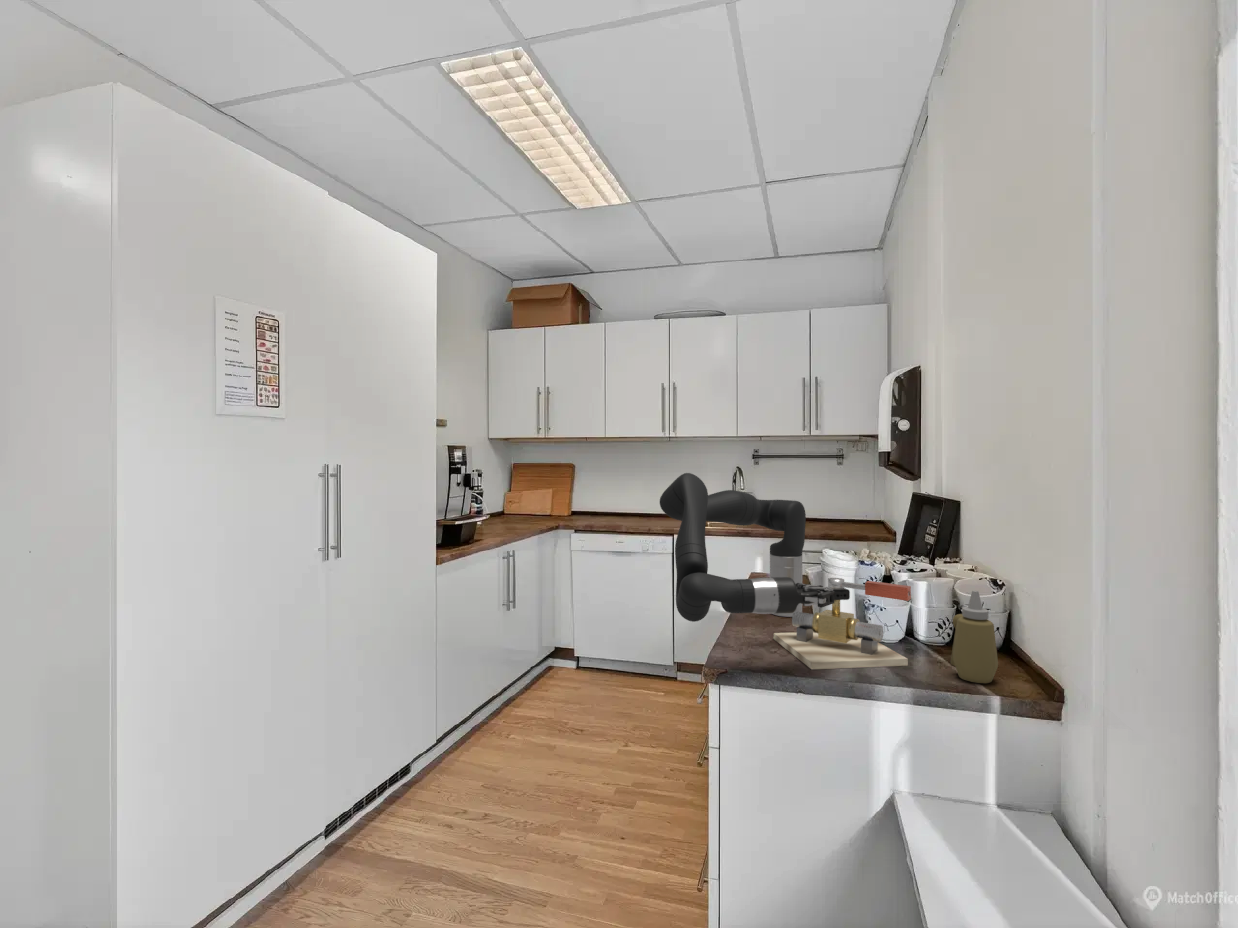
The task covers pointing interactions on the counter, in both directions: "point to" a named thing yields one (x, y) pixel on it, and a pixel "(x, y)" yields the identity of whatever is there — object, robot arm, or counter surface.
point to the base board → (837, 653)
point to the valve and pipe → (837, 628)
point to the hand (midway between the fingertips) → (847, 593)
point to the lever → (875, 588)
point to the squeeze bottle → (975, 643)
